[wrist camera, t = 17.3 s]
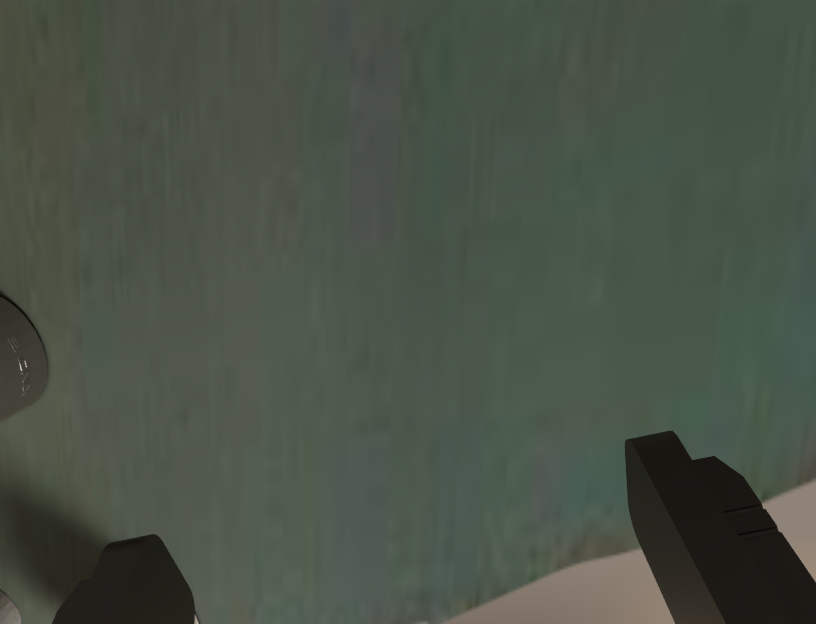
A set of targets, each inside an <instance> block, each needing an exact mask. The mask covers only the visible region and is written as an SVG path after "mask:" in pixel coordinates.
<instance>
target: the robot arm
mask: <svg viewBox="0 0 816 624" xmlns="http://www.w3.org/2000/svg"><path fill="white" fill-rule="evenodd" d="M46 381H47V362H46V355H45V352H44V349H43V346H42V343H41V341H40V339H39V337H38V335H37V333H36V331H35V329H34V328H33V327H32V325H31V324H30V322H29V321H28V320H27V318H26V317H25V316H24V315H23V314H22V313H21V312H20V311H19V310H18V309H17V308H16V307H15V306H14V305H12V304H11V303H10V302H8V301H7V300H6V299H4V298H2V297H0V423H1V422H3V421H4V420H6V419H8V418H9V417H11V416H13V415H14V414H16V413H18V412H20V411H21V410H23V409H25V408H26V407H28V406H30V405H31V404H32V403H34V402H35V401H36V400H37V399H38V398H39V397H40V395H41V394H42V392H43V391H44V387H45V384H46ZM625 460H626V477H627V494H628V506H629V512H630V516H631V520H632V524H633V527H634V531H635V534H636V536H637V539H638V541H639V544H640V546H641V548H642V550H643V552H644V554H645V557H646V559H647V561H648V564H649V566H650V568H651V570H652V573H653V575H654V577H655V579H656V581H657V584H658V586H659V588H660V591H661V593H662V595H663V597H664V599H665V602H666V604H667V606H668V608H669V610H670V613H671V615H672V617H673V619H674V622H675V624H816V582H815V581H814V579H813V578H812V577H811V575H810V573H809V572H808V571H807V569H806V568H805V566H804V565H803V563H802V562H801V560H800V559H799V557H798V556H797V554H796V553H795V552H794V550H793V549H792V547H791V546H790V544H789V543H788V541H787V540H786V538H785V537H784V536H783V534H782V533H781V532H779V531H778V529H777V525H776V524H775V522H774V521H773V519H772V518H771V516H770V515H769V514H768V512H767V511H766V509H763V507H762V503H761V502H760V500H759V499H758V497H757V496H756V495H755V493H754V492H753V490H752V489H751V487H750V486H749V484H748V483H747V481H746V480H745V478H744V477H743V476H742V475H740V474H739V473H737V472H736V471H735V470H733V469H732V468H730V467H729V466H728V465H726V464H725V463H723V462H722V461H721V460H719V459H718V458H716V457H715V456H711V457H706V458H701V459H696V460H692V459H691V458H690V456H689V454H688V453H687V451H686V449H685V448H684V446H683V444H682V443H681V441H680V440H679V438H678V437H677V435H676V434H675V433H674V432H673V431H667V432H662V433H657V434H652V435H647V436H642V437H637V438H632V439H627V440H626V441H625ZM194 622H195V606H194V599H193V595H192V592H191V590H190V588H189V586H188V584H187V582H186V581H185V579H184V577H183V575H182V574H181V572H180V570H179V569H178V567H177V565H176V564H175V562H174V560H173V558H172V557H171V555H170V553H169V552H168V550H167V548H166V546H165V545H164V543H163V541H162V540H161V539H160V537H158V536H157V535H155V534H152V535H147V536H142V537H137V538H132V539H127V540H122V541H117V542H112V543H110V544H108V545H107V546H106V547H105V549H104V550H103V552H102V555H101V557H100V560H99V562H98V565H97V567H96V570H95V572H94V575H93V577H92V579H90V580H85V581H81V582H80V583H79V584H78V586H77V587H76V588H75V589H74V591H73V592H72V593H71V595H70V596H69V597H68V598H67V600H66V601H65V602H64V603H63V605H62V606H61V607H60V608H59V610H58V611H57V613H56V616H55V618H54V620H53V623H52V624H194Z"/></svg>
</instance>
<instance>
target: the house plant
mask: <svg viewBox="0 0 816 624" xmlns="http://www.w3.org/2000/svg"><path fill="white" fill-rule="evenodd" d="M0 624H21V616H20V613H19V611H18V609H17V607H16V605H15V604H14V603H13V601H12V600H11V599H10V598H9V597H8V596H7V595H6V594H4V593H3V592H1V591H0Z"/></svg>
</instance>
